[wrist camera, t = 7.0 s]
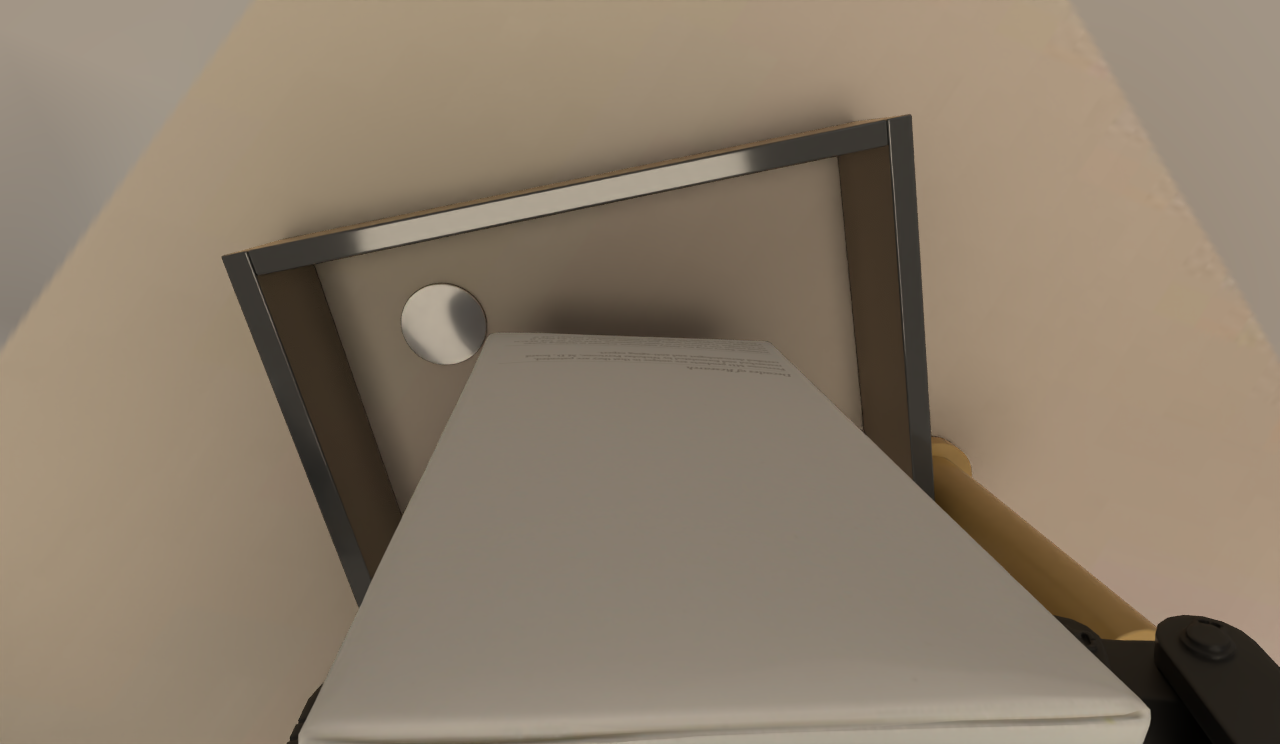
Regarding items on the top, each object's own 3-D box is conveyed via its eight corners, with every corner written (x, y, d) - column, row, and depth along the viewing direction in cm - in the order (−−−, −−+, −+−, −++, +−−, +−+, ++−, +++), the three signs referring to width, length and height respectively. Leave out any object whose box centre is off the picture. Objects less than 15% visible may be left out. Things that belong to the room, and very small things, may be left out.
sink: (422, 629, 30) (324, 928, 18) (282, 239, 25) (14, 312, 13) (964, 509, 31) (1201, 724, 19) (945, 102, 25) (1264, 54, 14)
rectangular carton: (481, 323, 20) (260, 724, 6) (773, 336, 21) (1199, 701, 7) (481, 587, 23) (332, 1305, 8) (741, 586, 24) (999, 1226, 9)
